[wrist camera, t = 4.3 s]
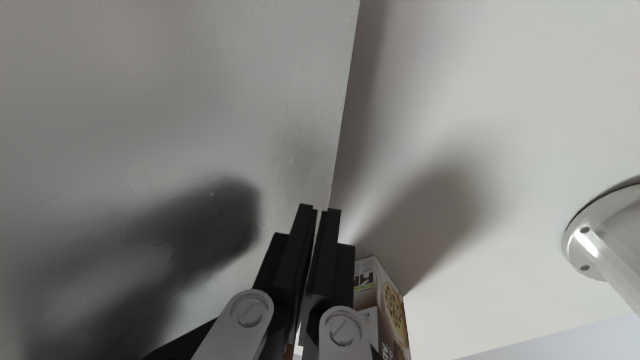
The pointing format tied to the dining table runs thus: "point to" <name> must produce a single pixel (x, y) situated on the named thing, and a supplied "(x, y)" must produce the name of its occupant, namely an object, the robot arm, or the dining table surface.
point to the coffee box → (381, 309)
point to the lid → (155, 160)
